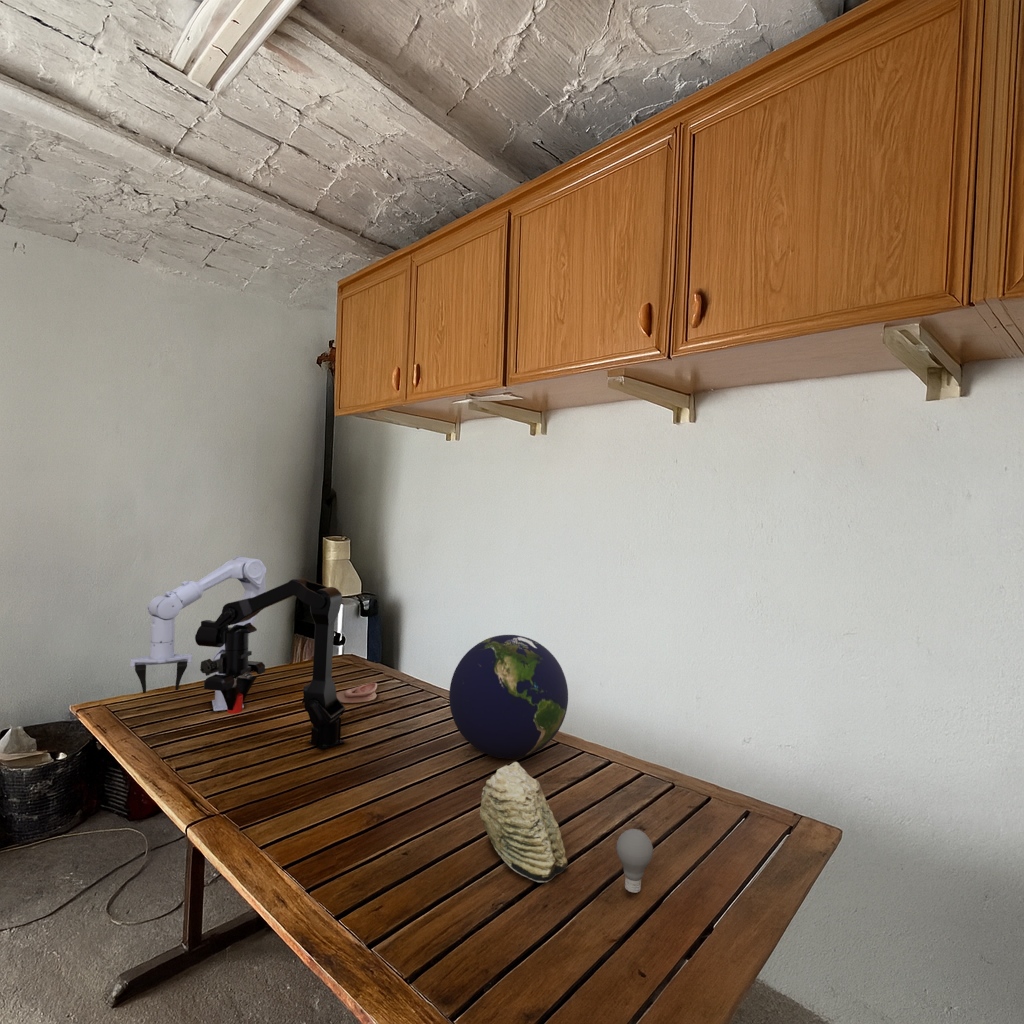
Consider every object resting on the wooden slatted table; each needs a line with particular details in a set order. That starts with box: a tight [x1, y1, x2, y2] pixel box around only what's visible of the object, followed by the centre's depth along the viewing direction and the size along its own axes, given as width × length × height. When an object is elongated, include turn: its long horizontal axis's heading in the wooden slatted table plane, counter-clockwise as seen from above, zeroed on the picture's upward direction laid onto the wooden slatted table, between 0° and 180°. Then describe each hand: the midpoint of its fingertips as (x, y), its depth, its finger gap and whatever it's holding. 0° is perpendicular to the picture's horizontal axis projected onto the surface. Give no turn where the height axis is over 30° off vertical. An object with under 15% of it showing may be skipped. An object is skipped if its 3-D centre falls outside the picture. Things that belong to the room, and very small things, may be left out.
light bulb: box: [615, 828, 654, 894], centre depth 106 cm, size 6×6×10 cm
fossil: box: [479, 761, 569, 883], centre depth 114 cm, size 9×18×15 cm, turn 46°
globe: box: [448, 634, 569, 760], centre depth 160 cm, size 30×30×30 cm
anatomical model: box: [336, 682, 378, 704], centre depth 199 cm, size 13×4×12 cm
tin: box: [226, 693, 244, 715], centre depth 167 cm, size 4×4×4 cm
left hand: (160, 690), depth 172 cm, fingers open, 7 cm apart
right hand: (235, 707), depth 167 cm, fingers closed on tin, 4 cm apart
